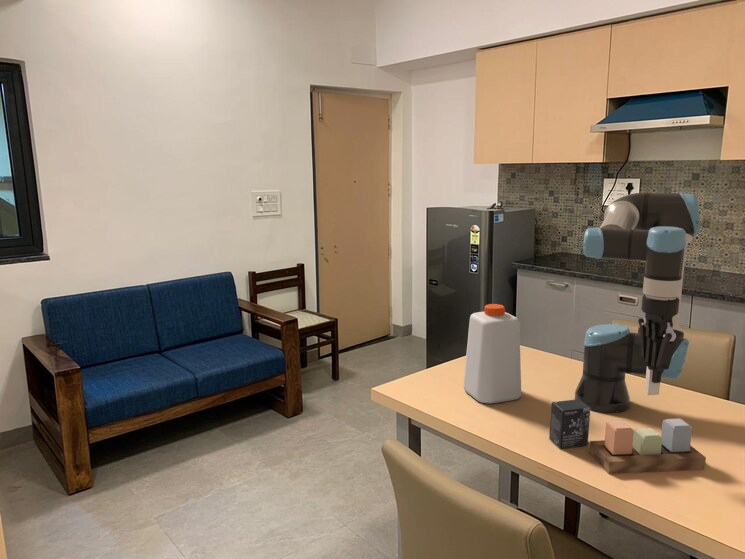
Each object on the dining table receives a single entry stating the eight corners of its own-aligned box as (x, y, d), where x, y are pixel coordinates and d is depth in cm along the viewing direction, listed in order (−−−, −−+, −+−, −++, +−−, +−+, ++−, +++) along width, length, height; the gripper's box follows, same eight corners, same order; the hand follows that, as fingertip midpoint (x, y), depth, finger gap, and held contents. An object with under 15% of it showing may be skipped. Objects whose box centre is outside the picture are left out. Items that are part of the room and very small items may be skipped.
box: (560, 450, 143) (562, 410, 141) (548, 439, 148) (550, 401, 146) (588, 446, 145) (591, 407, 143) (575, 435, 150) (578, 398, 148)
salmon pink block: (613, 454, 134) (615, 429, 133) (604, 445, 138) (606, 420, 137) (631, 453, 134) (634, 428, 133) (622, 444, 139) (624, 419, 137)
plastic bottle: (500, 381, 187) (503, 298, 181) (526, 399, 173) (531, 309, 167) (458, 388, 182) (460, 302, 176) (482, 407, 168) (484, 314, 162)
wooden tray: (608, 473, 132) (609, 461, 131) (589, 452, 142) (590, 440, 141) (704, 469, 133) (705, 457, 133) (679, 448, 143) (680, 437, 143)
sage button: (641, 461, 135) (643, 436, 134) (631, 452, 139) (633, 427, 138) (659, 460, 135) (662, 435, 134) (649, 451, 140) (651, 427, 138)
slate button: (671, 452, 135) (673, 426, 134) (660, 442, 139) (663, 418, 138) (689, 451, 135) (692, 426, 134) (678, 442, 140) (681, 417, 138)
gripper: (694, 302, 123) (683, 404, 128) (660, 288, 136) (651, 382, 141) (661, 304, 123) (651, 406, 128) (630, 289, 135) (622, 383, 140)
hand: (651, 393), depth 134 cm, fingers closed
